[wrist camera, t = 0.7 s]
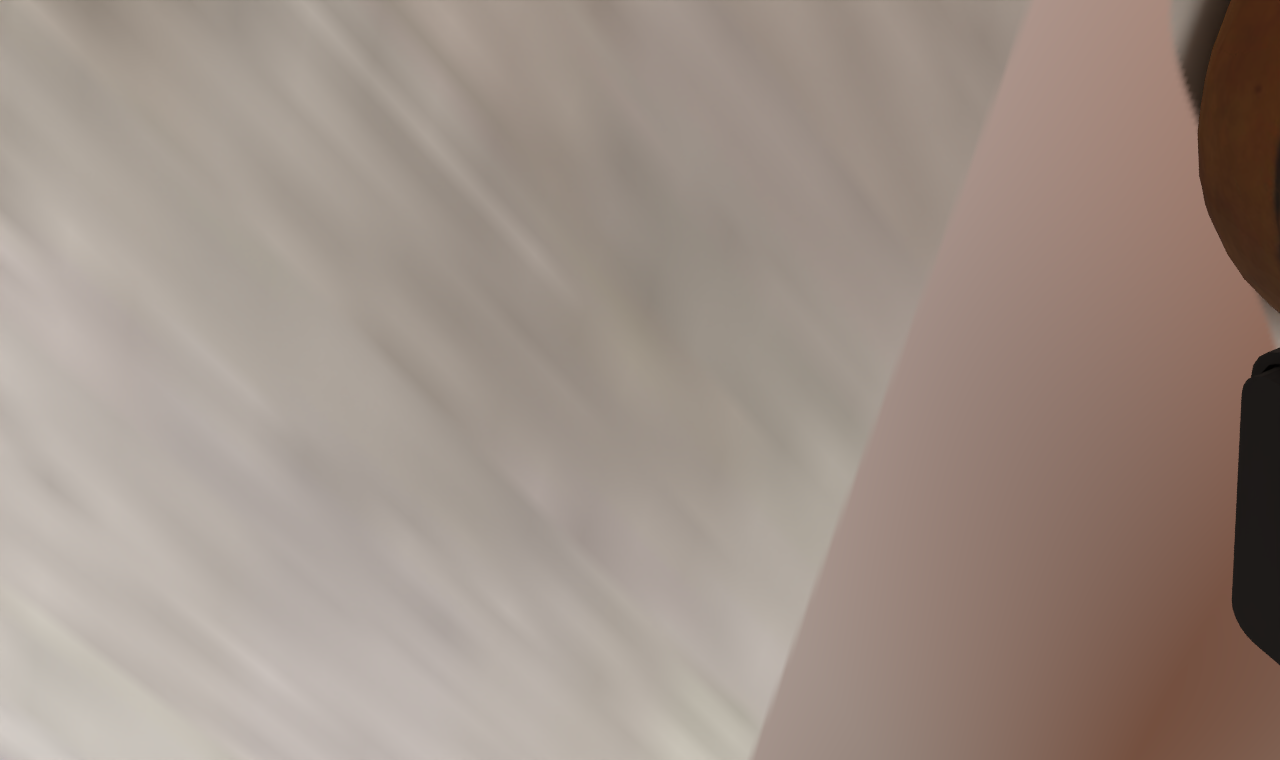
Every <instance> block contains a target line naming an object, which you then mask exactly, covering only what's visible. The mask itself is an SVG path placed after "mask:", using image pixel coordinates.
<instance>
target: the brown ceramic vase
mask: <svg viewBox="0 0 1280 760" xmlns="http://www.w3.org/2000/svg"><path fill="white" fill-rule="evenodd" d="M1198 153H1199V177H1200V181H1201V185H1202V189H1203V195H1204V200H1205V205H1206V208H1207V211H1208V213H1209V216H1210V218H1211V220H1212V222H1213V225H1214V227H1215V229H1216V231H1217V233H1218V235H1219V237H1220V239H1221V241H1222V243H1223V246H1224V248H1225V249H1226V252H1227V254H1228V256H1229V257H1230V258H1231V260H1232V261H1233V263H1234V264H1235V266H1236V267H1237V269H1238V270H1239V272H1240V273H1241V275H1242V276H1243V278H1244V279H1245V280H1246V281H1247V282H1248V283H1249V284H1250V285H1251V286H1252V287H1253V288H1254V289H1255V290H1256V291H1257V292H1258V293H1259V294H1260V295H1261V296H1262V297H1263V298H1264V299H1265V300H1266V301H1267V302H1268V303H1269V304H1270V305H1271V306H1272V307H1273V308H1274V309H1275V310H1277V311H1278V312H1279V313H1280V0H1231V1H1230V3H1229V6H1228V9H1227V12H1226V14H1225V17H1224V20H1223V23H1222V25H1221V28H1220V31H1219V33H1218V36H1217V38H1216V41H1215V44H1214V46H1213V49H1212V53H1211V57H1210V61H1209V64H1208V68H1207V73H1206V77H1205V82H1204V89H1203V95H1202V101H1201V108H1200V117H1199V125H1198Z"/></svg>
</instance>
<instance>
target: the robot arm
mask: <svg viewBox="0 0 1280 760" xmlns="http://www.w3.org/2000/svg"><path fill="white" fill-rule="evenodd" d="M1232 607H1233V611H1234V614H1235V617H1236V619H1237V621H1238V623H1239V625H1240V627H1241V628H1242V630H1243V631H1244V633H1245V634H1246V635H1247V636H1248V637H1249V638H1250V639H1251V640H1252V642H1254V643H1255V644H1256V645H1257V646H1258V647H1259V648H1260V649H1262V650H1263V651H1264V652H1265V653H1266V654H1268V655H1269V656H1270V657H1271V658H1272V659H1273V660H1275V661H1276V662H1277V663H1278V664H1279V665H1280V348H1277V349H1275V350H1273V351H1270V352H1268V353H1266V354H1264V355H1262V356H1260V357H1259V358H1258V359H1257V361H1256V362H1255V364H1254V365H1253V370H1252V375H1251V378H1249V379H1248V380H1247V381H1246V383H1245V384H1244V386H1243V390H1242V400H1241V422H1240V442H1239V462H1238V483H1237V504H1236V525H1235V545H1234V568H1233V587H1232Z"/></svg>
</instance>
